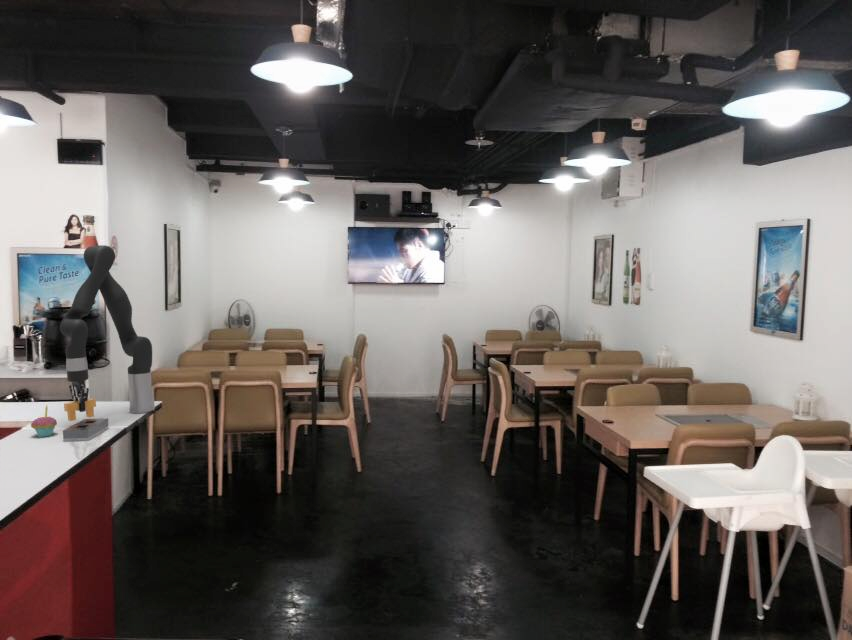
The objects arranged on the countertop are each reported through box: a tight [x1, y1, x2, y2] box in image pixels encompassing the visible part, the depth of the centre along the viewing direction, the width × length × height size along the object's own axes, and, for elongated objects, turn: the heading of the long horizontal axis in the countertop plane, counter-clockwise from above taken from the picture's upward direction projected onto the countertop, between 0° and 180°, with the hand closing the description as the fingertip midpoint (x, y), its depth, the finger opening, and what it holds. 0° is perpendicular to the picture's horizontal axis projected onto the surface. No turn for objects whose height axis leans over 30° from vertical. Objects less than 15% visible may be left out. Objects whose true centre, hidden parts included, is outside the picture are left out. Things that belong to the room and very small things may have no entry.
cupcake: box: [30, 404, 58, 438], centre depth 253 cm, size 9×8×12 cm
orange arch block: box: [63, 397, 97, 422], centre depth 267 cm, size 11×3×7 cm, turn 139°
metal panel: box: [62, 418, 109, 442], centre depth 254 cm, size 18×9×4 cm, turn 4°
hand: (80, 410), depth 267 cm, fingers closed on orange arch block, 3 cm apart
